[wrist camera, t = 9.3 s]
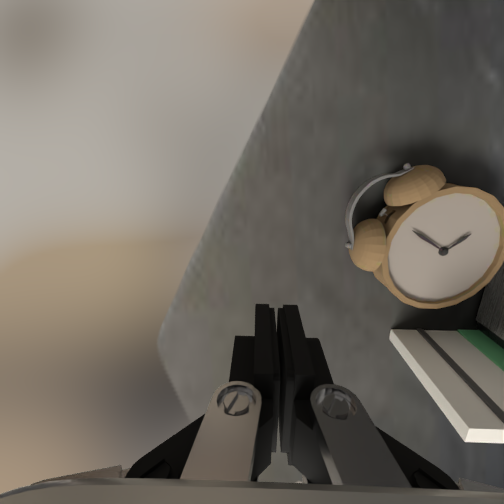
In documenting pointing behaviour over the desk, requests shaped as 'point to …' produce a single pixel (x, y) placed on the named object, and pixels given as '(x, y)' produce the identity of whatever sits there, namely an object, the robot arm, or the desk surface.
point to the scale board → (459, 377)
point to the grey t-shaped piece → (493, 309)
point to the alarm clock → (429, 237)
